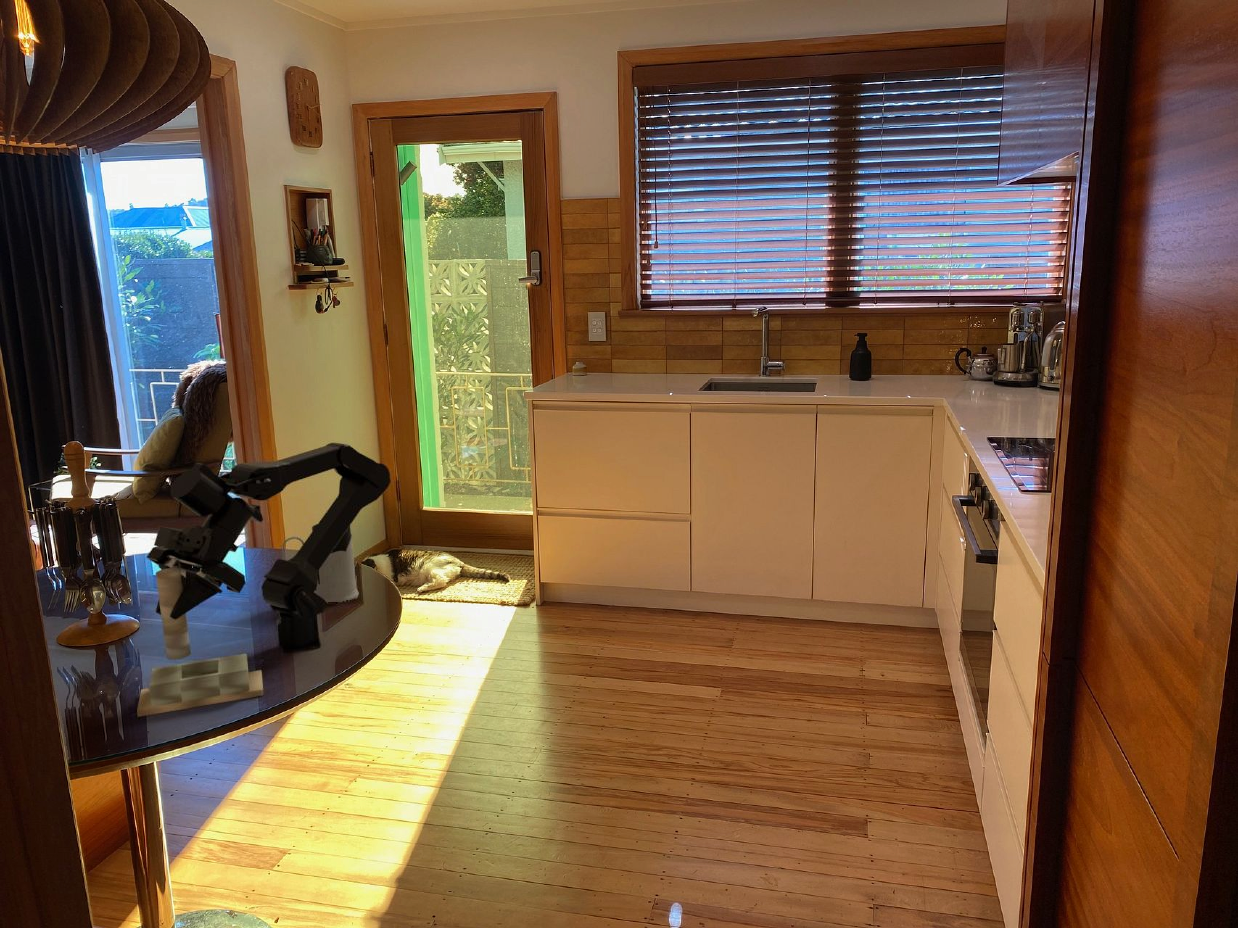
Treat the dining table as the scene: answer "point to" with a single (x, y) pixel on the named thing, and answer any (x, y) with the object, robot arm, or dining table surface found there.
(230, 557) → the dining table surface
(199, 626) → the dining table surface
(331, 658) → the dining table surface
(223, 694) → the checkered slab
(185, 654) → the beige bar
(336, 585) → the glass holder
